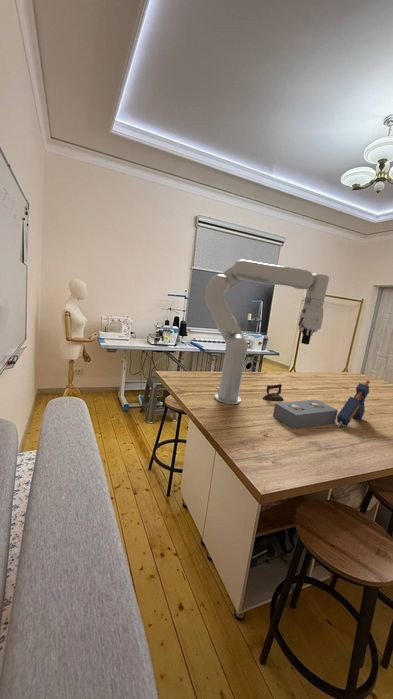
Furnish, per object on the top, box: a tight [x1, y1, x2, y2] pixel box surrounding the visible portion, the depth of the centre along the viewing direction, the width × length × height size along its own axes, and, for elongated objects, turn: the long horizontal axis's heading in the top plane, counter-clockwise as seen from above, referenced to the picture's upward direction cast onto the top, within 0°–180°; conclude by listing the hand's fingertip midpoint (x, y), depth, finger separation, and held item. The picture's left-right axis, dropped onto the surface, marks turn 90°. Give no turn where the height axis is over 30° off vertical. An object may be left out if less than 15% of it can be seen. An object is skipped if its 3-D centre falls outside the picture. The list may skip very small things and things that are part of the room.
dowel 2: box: [312, 403, 322, 408], centre depth 130 cm, size 4×4×5 cm
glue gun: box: [336, 379, 371, 428], centre depth 133 cm, size 6×31×15 cm
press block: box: [272, 399, 339, 430], centre depth 127 cm, size 12×26×6 cm, turn 118°
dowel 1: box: [291, 405, 302, 411], centre depth 124 cm, size 4×4×5 cm
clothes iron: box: [262, 383, 284, 402], centre depth 147 cm, size 7×11×10 cm, turn 120°
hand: (304, 343), depth 130 cm, fingers closed
